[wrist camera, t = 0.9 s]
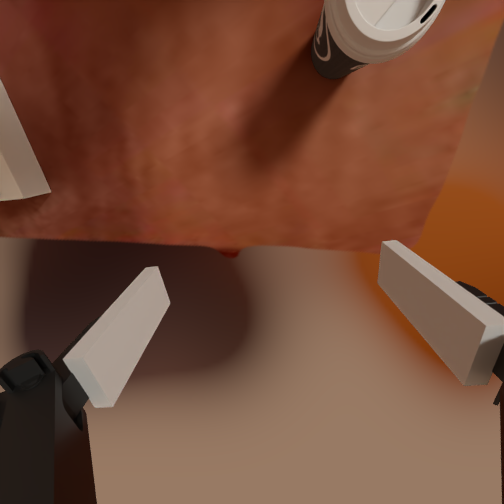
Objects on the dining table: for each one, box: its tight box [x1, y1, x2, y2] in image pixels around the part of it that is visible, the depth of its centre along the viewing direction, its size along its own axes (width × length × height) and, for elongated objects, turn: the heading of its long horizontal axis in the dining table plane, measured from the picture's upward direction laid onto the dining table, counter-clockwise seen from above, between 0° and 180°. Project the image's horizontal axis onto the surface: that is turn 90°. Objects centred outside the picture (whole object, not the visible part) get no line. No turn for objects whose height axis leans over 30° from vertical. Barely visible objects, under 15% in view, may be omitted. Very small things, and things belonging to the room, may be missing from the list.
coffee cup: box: [311, 0, 445, 79], centre depth 23 cm, size 10×10×15 cm
